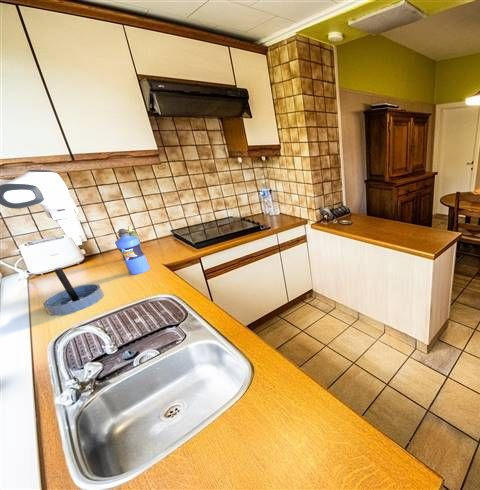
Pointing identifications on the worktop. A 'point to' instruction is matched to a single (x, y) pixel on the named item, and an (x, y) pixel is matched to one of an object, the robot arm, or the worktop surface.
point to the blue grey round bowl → (61, 306)
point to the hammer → (67, 285)
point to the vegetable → (132, 233)
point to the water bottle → (132, 253)
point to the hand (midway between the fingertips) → (78, 242)
